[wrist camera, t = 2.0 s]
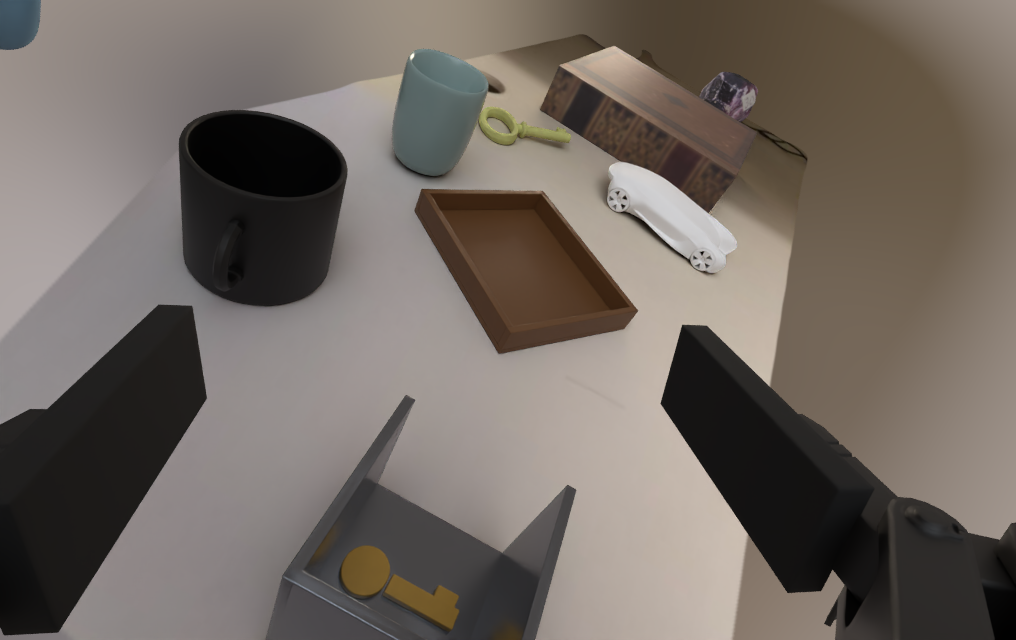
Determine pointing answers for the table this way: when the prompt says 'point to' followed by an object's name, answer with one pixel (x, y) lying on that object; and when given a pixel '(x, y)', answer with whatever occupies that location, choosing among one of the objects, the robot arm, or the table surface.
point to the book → (650, 123)
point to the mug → (258, 205)
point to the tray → (522, 267)
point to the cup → (436, 111)
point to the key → (516, 128)
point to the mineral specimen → (731, 95)
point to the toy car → (670, 215)
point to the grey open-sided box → (415, 565)
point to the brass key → (395, 587)
